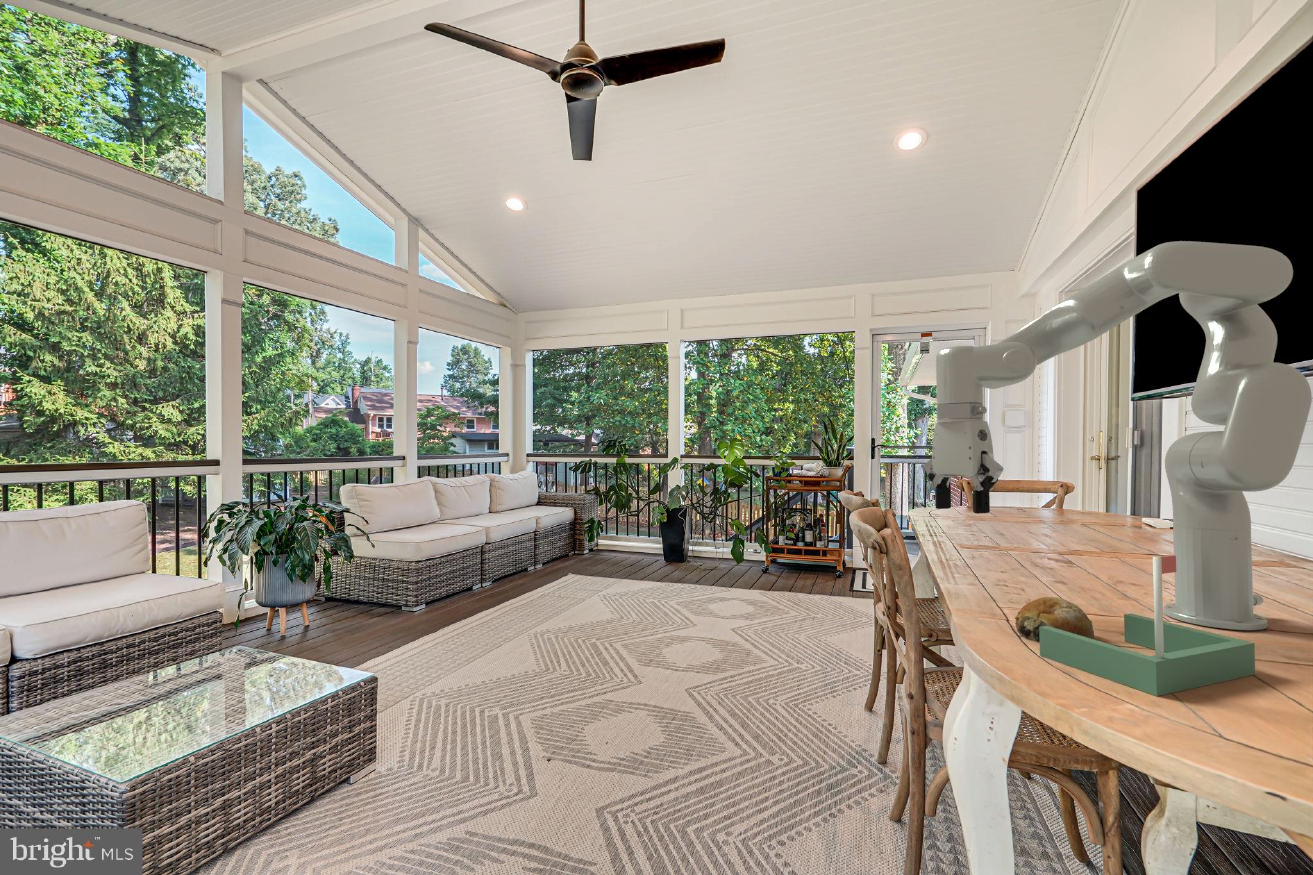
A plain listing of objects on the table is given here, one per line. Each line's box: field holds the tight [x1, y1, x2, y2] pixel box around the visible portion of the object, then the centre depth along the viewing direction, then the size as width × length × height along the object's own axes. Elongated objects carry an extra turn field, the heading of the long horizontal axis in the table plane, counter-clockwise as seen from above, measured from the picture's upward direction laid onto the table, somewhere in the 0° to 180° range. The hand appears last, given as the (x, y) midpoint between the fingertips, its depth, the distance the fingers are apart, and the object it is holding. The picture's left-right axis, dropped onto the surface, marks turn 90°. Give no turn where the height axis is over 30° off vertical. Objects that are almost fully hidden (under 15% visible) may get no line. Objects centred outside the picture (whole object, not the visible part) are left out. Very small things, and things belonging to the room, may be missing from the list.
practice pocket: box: [1039, 554, 1256, 697], centre depth 79 cm, size 19×14×16 cm
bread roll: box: [1014, 596, 1096, 643], centre depth 90 cm, size 10×10×8 cm
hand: (961, 510), depth 106 cm, fingers open, 7 cm apart
